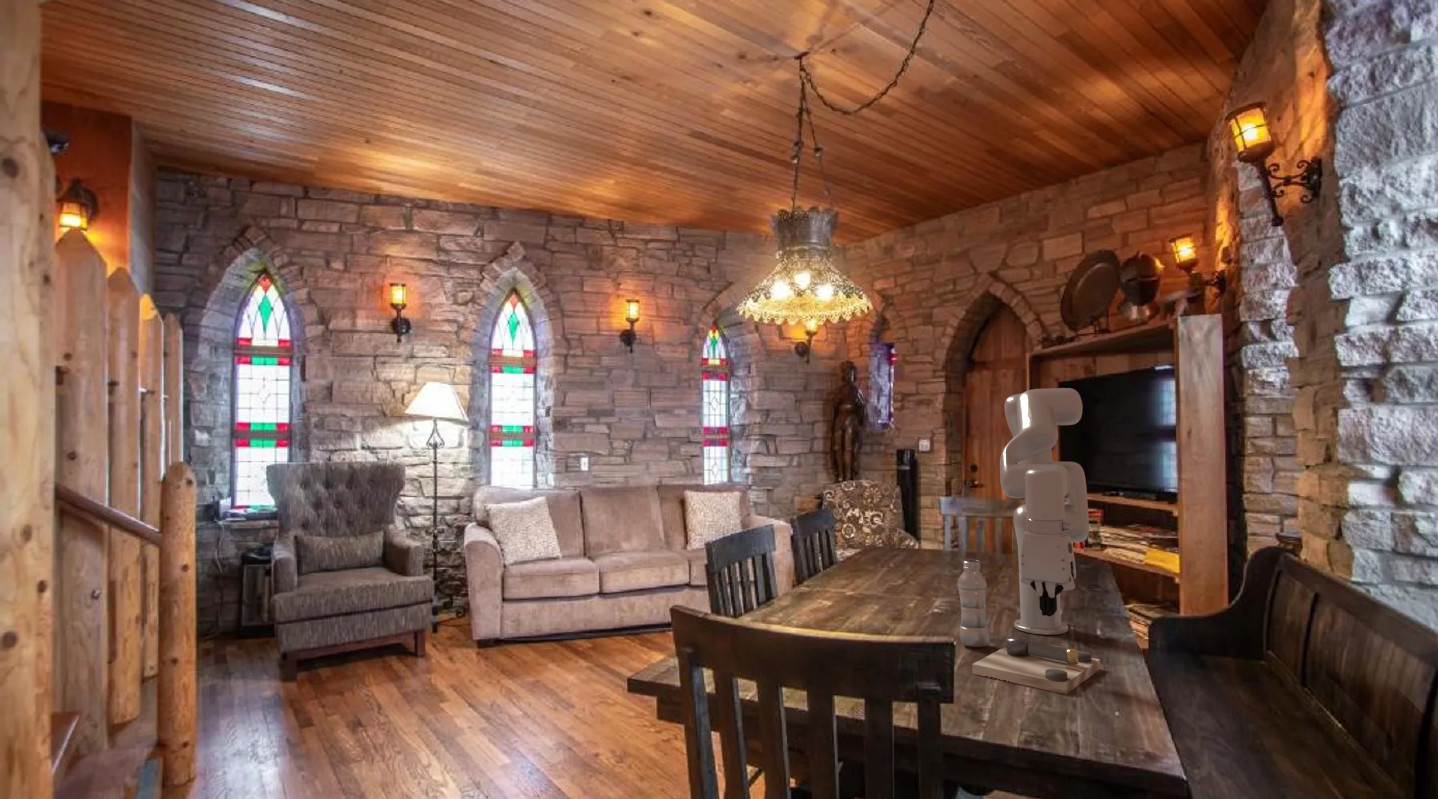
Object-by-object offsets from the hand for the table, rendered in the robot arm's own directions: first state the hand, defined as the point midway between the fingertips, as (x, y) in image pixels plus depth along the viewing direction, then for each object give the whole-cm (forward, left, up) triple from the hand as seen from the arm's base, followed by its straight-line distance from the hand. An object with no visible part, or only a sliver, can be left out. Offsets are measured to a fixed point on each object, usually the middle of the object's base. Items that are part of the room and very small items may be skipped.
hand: (1048, 614), depth 160 cm
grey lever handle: (-2, -3, -10) cm, 11 cm away
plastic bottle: (-9, -21, -12) cm, 26 cm away
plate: (0, -3, -12) cm, 12 cm away
